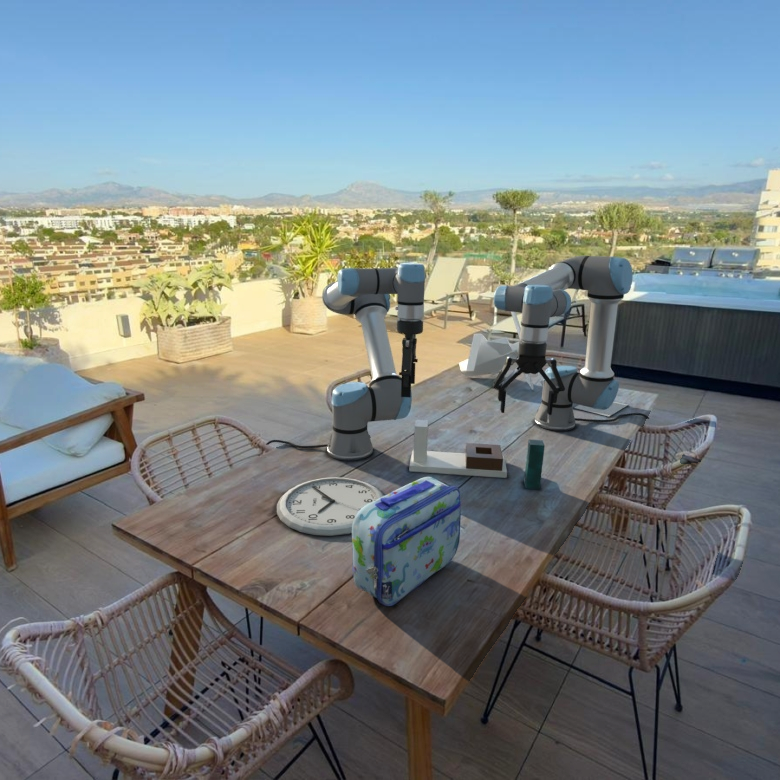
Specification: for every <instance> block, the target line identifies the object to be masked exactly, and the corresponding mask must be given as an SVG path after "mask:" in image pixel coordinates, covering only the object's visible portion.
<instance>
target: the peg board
mask: <svg viewBox="0 0 780 780" xmlns="http://www.w3.org/2000/svg"><path fill="white" fill-rule="evenodd" d="M413 434H414V435H413V449H412V451H411V456H410V460H409V465H408V466H409V469H408V470H409V472H414V473H427V474H428V473H429V474H430V473H431V474H442V475H443V474H445V475H446V474H447V475H458V476H472V477H473V476H474V477H485V478H486V477H488V478H502V479H503V478H504V479H507V478H508V470H507V464H506V460H505V456H504V455H503V452H502V448H501V447H502V446H501V444H492V443H491V444H490V443H474V442H465V452H449V451H433V450H432V451H431V450H428V442H429V441H428V438H429V420H428V419H426V420H425V419H415V422H414V429H413Z"/></svg>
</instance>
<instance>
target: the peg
mask: <svg viewBox="0 0 780 780" xmlns="http://www.w3.org/2000/svg"><path fill="white" fill-rule="evenodd" d="M545 447H546V446H545V442H544V441H543V439H528V441H527V451H526V461H525V470H524V471H525V472H524V481H523V483H524V486H525V489H529V490H540V489H541V481H542V474H543V473H542V471H543V464H544V454H545Z"/></svg>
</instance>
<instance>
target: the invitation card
mask: <svg viewBox="0 0 780 780" xmlns="http://www.w3.org/2000/svg"><path fill="white" fill-rule="evenodd" d="M628 406H629V404H627V403H623V402H618V401H614V402H613V403H612V405H611V406H610V407H609V408H608V409H606V410H601V409H594V408H591V407H587V406H583V405H579V404H577V405H575V406H574V407H573V409H575V410H581V411H584V412H587V413H593V414H596V415H600V416H604V417H608V418H609V417H611V416H613V415H614V414H616V413H617V412H619V411H621V410H623V409H624V408H626V407H628Z"/></svg>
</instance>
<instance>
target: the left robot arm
mask: <svg viewBox="0 0 780 780" xmlns="http://www.w3.org/2000/svg"><path fill="white" fill-rule="evenodd" d="M425 269H426V267H425V265H424V264H423V263H417V262H402V263H400V264H399V265H398V266H393V267H377V268H376V267H375V268H374V267H373V268H371V267H370V268H369V267H368V268H365V267H364V268H362V267H361V268H359V267H358V268H355V267H347V268H341V269H339V270H338V272H337V273H338V274H337V281H334V282H333V281H332V282H331V283H329V284H328V285H326V286H325V287H324V289H323V290H322V295H321V300H322V303H323V305H324V306H325V307H326V309H328V310H329V311H331V312H332V313H335V314H339V315H346V316H347V315H349V316H350V315H354V317H355V321H356V322H357V323H359V324H360V325H361V329H362V330H361V331H362V335H363V340H364V345H365V351H366V355H367V360H368V366H369V370H370V376H371V380H370V381H369V383H368V384H367V383H366V382H362V381H351V382H345V383H342V384H339V385H337V386H336V387H335V388H334V389H333V390H332V393H331V394H332V395H331V402H330V403H331V414H332V415H331V416H332V418H331V423H332V430H331V434H330V437H329V441H328V444H327V443H326V444H317V445H299V444H295V443H292V442H291V441H287V440H282V439H272V440H269V441H267V442H266V443H265V445H266V446H269V445H270V444H272V443H280V444H286V445H290V446H292V447H293V448H298V449H317V448H319V449H320V448H326V449H327V450H326V451H327V454H328V456H329V457H331V458H333V459H335V460H338V461H347V462H353V461H360V460H364V459H367V458H368V457H370V456H372V454H373V452H374V450H373V449H374V446H373V443H372V440H371V435H370V434H369V430H368V423H370V422H383V421H396V420H401V419H405V418H408V416H409V414H410V412H411V409H412V401H413V400H412V399H413V398H412V396H413V395H412V385H415V384H416V363H418V361H419V360H418V358H417V343H418V338H417V337H416V336H417V335H420V334H423V332H424V320H423V319H424V315H425V287H426V270H425ZM390 295H397V302H396V303H397V306H395V308H394V309H395V311H397V315H396V317H397V320H396V331H397V333H398V334H400V335H404V337H403V338H402V341H401V347H402V349H401V352H402V354H401V368H400V369H401V370H400V372H399V371H398V374H397V370H396V365H395V362H394V356H393V353H392V347H391V343H390V339H389V334H388V330H387V325H386V320H385V319H386V317H387V316H388V313H389V311H390V308H391V301H390V299H391V298H390Z"/></svg>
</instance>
